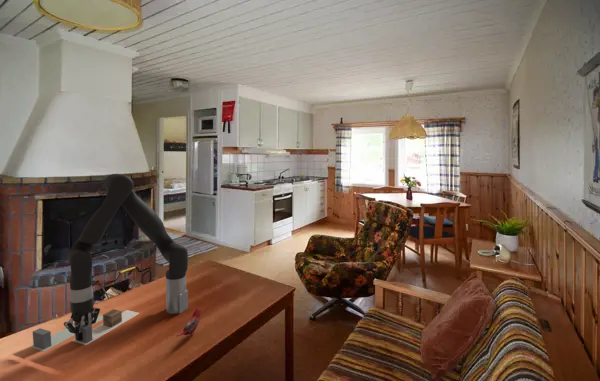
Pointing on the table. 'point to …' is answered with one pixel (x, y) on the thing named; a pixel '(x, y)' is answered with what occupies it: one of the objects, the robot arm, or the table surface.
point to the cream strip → (101, 329)
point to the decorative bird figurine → (191, 324)
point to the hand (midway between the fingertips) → (83, 337)
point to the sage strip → (52, 337)
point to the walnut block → (112, 318)
